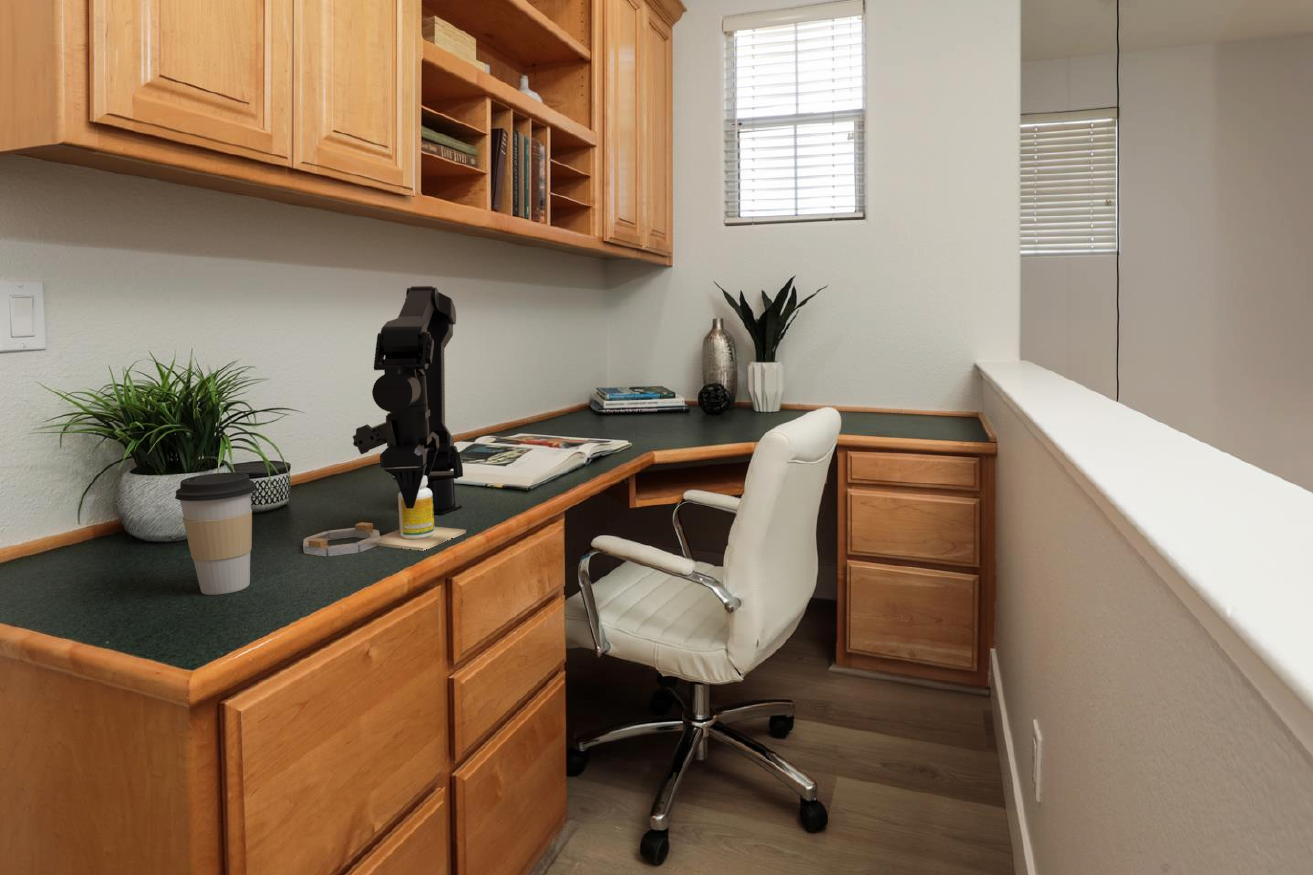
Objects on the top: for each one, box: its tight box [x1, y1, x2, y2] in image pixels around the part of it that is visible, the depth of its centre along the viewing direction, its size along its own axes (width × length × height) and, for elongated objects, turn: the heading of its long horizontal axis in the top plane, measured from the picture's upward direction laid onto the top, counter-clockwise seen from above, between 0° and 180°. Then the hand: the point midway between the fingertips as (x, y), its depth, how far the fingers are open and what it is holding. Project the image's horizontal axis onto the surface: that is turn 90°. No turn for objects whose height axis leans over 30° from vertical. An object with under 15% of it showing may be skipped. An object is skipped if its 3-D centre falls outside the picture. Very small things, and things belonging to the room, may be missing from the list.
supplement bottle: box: [397, 475, 435, 539], centre depth 128 cm, size 5×5×10 cm
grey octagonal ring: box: [302, 521, 381, 557], centre depth 125 cm, size 11×11×2 cm
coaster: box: [376, 526, 467, 552], centre depth 128 cm, size 11×11×1 cm
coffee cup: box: [174, 471, 257, 596], centre depth 105 cm, size 9×9×15 cm
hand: (415, 501), depth 127 cm, fingers open, 9 cm apart
